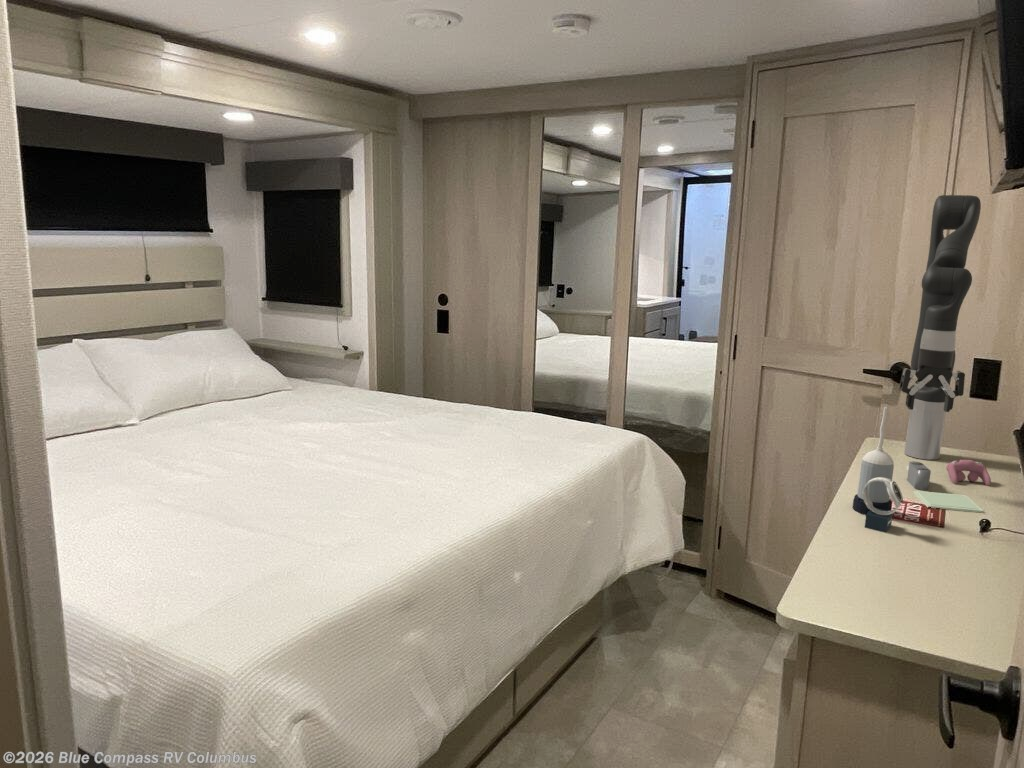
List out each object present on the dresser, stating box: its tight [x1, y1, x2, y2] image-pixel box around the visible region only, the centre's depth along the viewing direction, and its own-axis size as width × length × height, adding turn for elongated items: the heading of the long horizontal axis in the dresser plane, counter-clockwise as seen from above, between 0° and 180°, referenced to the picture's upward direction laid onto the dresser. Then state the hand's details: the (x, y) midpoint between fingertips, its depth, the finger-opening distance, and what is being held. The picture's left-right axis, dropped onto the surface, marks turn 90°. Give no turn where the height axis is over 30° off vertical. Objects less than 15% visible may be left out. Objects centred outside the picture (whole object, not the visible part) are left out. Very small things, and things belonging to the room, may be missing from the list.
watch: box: [862, 477, 904, 533], centre depth 163 cm, size 6×8×11 cm
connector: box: [906, 461, 932, 492], centre depth 193 cm, size 11×3×5 cm, turn 168°
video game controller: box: [946, 459, 992, 487], centre depth 196 cm, size 10×5×7 cm, turn 84°
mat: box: [913, 490, 985, 514], centre depth 180 cm, size 11×12×1 cm
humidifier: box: [852, 406, 895, 516], centre depth 171 cm, size 8×8×25 cm
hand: (928, 410), depth 189 cm, fingers open, 8 cm apart
